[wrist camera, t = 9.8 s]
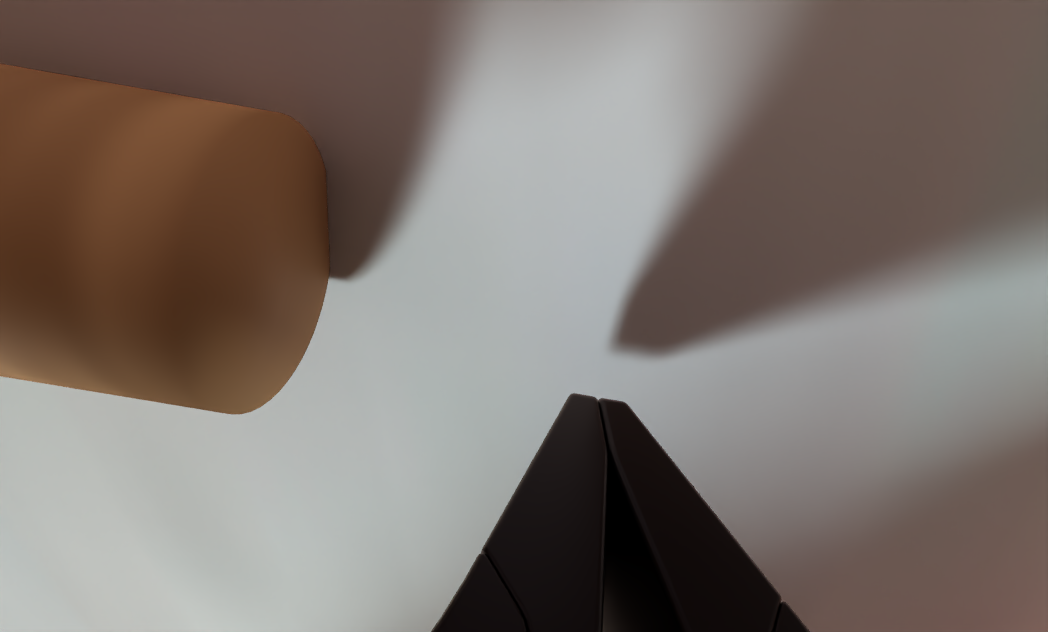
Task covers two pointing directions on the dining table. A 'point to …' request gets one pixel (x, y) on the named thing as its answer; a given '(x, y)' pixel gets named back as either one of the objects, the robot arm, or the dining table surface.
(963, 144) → the dining table surface
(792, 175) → the dining table surface
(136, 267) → the dowel
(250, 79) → the dining table surface
